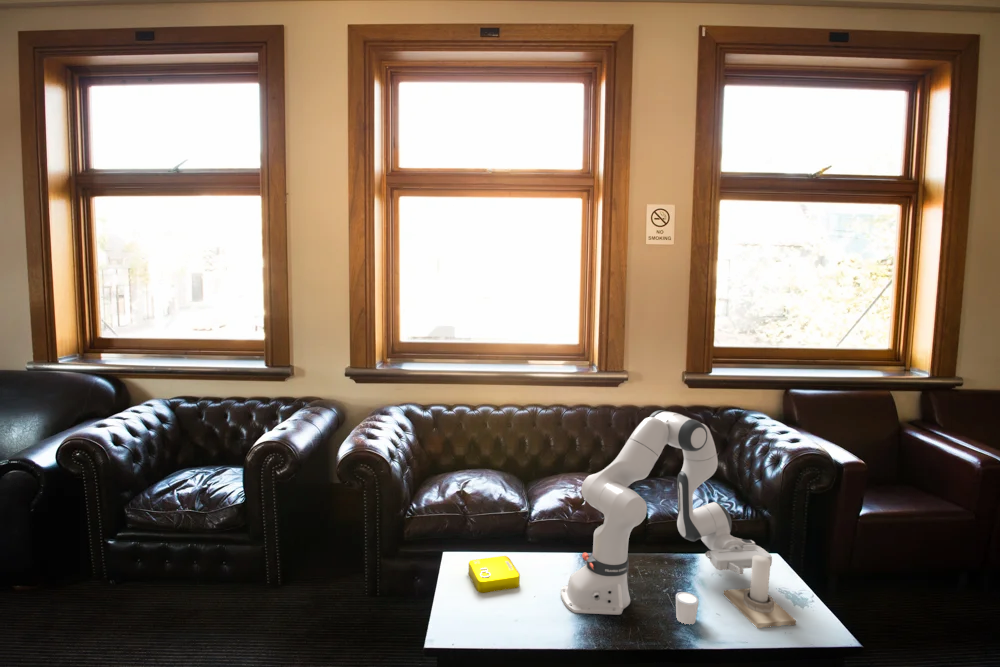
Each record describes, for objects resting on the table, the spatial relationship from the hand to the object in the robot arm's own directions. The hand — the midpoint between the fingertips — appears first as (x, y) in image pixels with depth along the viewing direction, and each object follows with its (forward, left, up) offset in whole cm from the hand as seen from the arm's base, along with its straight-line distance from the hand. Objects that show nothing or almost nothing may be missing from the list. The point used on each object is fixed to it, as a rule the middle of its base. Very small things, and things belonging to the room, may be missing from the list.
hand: (754, 571), depth 178 cm
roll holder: (0, -3, -11) cm, 11 cm away
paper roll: (0, -3, -9) cm, 10 cm away
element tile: (-81, +25, -12) cm, 86 cm away
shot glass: (-26, -5, -11) cm, 29 cm away
